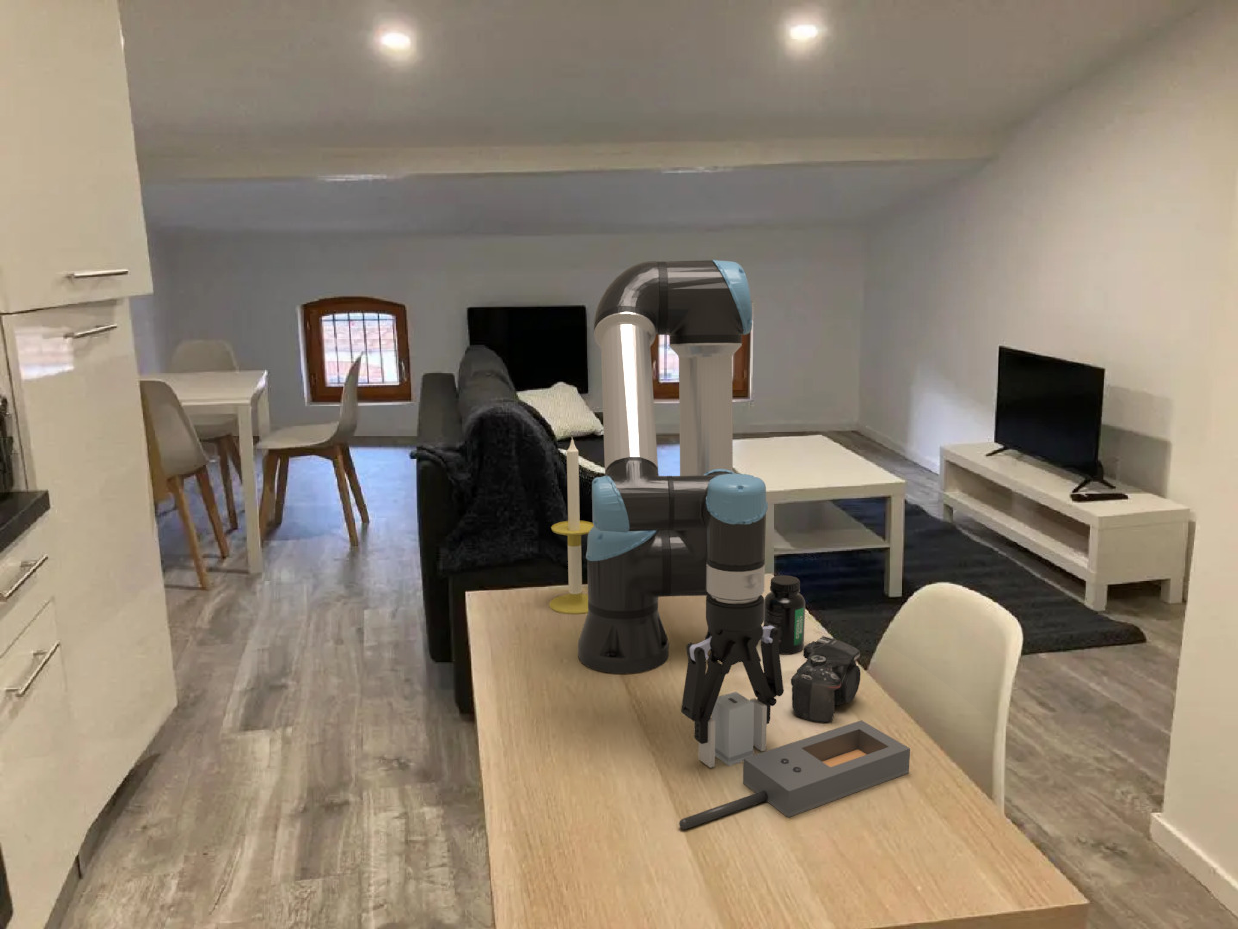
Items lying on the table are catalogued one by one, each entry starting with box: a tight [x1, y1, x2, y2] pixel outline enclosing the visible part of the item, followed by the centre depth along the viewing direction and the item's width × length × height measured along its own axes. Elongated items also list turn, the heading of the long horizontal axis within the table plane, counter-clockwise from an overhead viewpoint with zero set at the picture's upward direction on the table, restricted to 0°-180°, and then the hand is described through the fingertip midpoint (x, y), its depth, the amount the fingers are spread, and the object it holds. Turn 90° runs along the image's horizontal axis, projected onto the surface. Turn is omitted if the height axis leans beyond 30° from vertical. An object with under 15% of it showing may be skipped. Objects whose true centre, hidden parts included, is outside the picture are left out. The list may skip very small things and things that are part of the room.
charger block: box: [711, 691, 755, 767], centre depth 135 cm, size 4×4×8 cm
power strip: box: [678, 720, 911, 830], centre depth 127 cm, size 33×9×4 cm, turn 120°
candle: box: [549, 437, 594, 615], centre depth 188 cm, size 10×10×32 cm
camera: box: [790, 634, 862, 724], centre depth 150 cm, size 13×10×10 cm
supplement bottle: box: [763, 575, 806, 655], centre depth 170 cm, size 7×7×12 cm
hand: (732, 754), depth 136 cm, fingers open, 8 cm apart
